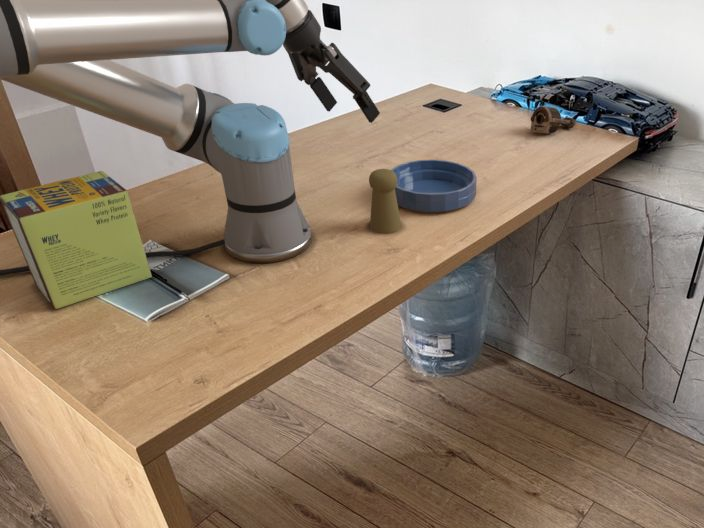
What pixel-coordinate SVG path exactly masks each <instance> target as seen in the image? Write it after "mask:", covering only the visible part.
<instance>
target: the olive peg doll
mask: <svg viewBox="0 0 704 528" xmlns="http://www.w3.org/2000/svg"><path fill="white" fill-rule="evenodd" d="M368 183H369V186H370V188H371V190H372V191H371V206H370V217H369V229H370V230H371V231H372V232H375V233H377V234H392V233H396V232H398V231H399V230H401V229H402V222H401V216H400V211H399V205H398V204H397V199H396V193H395V188H396V186H397V176H396V174H395V173H394V172H393V171H392V170H391V169H390V168H389V169H388V168H378V169H375V170H373V171H371V172H370V174H369V177H368Z"/></svg>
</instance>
